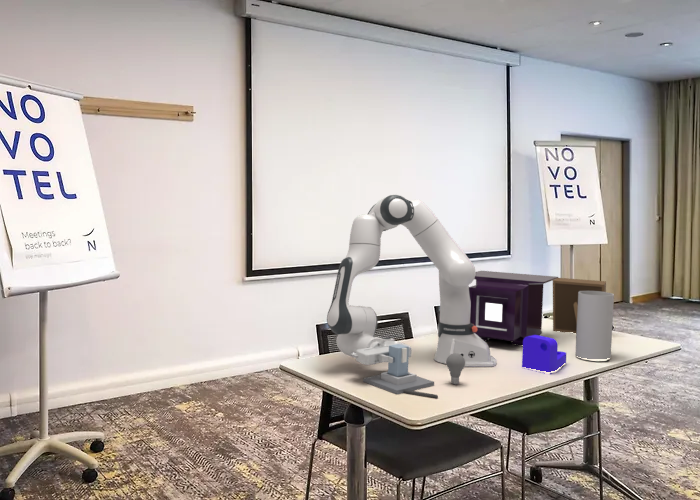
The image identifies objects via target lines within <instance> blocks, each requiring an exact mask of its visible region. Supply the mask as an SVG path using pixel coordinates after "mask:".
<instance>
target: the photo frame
mask: <svg viewBox="0 0 700 500" xmlns="http://www.w3.org/2000/svg"><path fill="white" fill-rule="evenodd" d="M579 291H600V292H607V281H605V280H593V279H579V278H570V277H569V278H568V277H567V278H565V277H558V278H557V279H555V280H552V332H557V331H560V332H559V333H565V332H573V333H576V332H577V312H578V292H579ZM573 333H572V334H573Z"/></svg>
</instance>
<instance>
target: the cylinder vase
mask: <svg viewBox="0 0 700 500" xmlns="http://www.w3.org/2000/svg"><path fill="white" fill-rule="evenodd" d="M614 299H615V294H614V293H612V292H607V291H606V292H600V291H579V292H578V312H577V332H576V334H575V338H576V339H575V357H576V356H578V357H581V358H587V359H607V358H610V357H612V343H613V342H612V341H613V339H612V338H613V321H614V320H613V319H614V305H615V304H614V301H615V300H614Z"/></svg>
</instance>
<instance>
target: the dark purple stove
mask: <svg viewBox="0 0 700 500" xmlns="http://www.w3.org/2000/svg"><path fill="white" fill-rule="evenodd" d="M475 272H476V274H475V278H474V280H475V285H472V286H469V295H470V301H471V307H470V323H472V324H474V325H475V326H476V327H477V329H478V330H477V332H475V334H476V335H478V336H479V337H480V338H481V339H482V340H488V341H490V340H491V339H492V340H499V341H506V342H511V345H512V344H516V345H515V346H518V345H523V339H524V338H525V337H527V336H532V335H539V336H542V334H543V331H542V330H543V329H542V327H543V326H542V325H543V304H544V302H543V300H544V284H546V283H550V282H553V280H555V279H557V278H559V276H554V275H553V276H551V275H542V274H541V275H539V274H529V273H514V272H504V271H501V272H500V271H492V270H491V271H489V270H478V271H475ZM489 339H490V340H489Z"/></svg>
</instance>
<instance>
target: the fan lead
mask: <svg viewBox="0 0 700 500" xmlns="http://www.w3.org/2000/svg"><path fill="white" fill-rule="evenodd" d="M403 392H404V393H403V394H408V395H409V394H410V395H414V394H415V395H416V396H420V395H421V397H422V396H423V397H426V396H427V398H432V397H434V398H433V399H438V398H439V396H438V394H435V393H434V394H433V393H428V392H422V391H417V390H414V391H411V390H404V391H403Z"/></svg>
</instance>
